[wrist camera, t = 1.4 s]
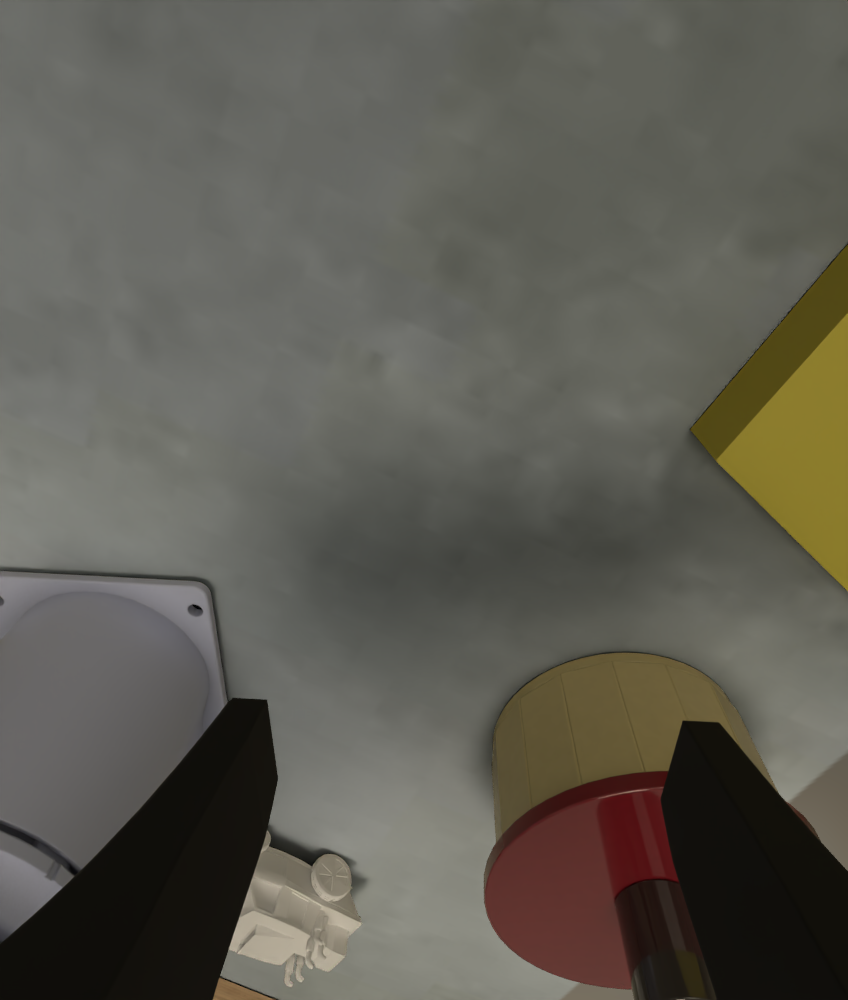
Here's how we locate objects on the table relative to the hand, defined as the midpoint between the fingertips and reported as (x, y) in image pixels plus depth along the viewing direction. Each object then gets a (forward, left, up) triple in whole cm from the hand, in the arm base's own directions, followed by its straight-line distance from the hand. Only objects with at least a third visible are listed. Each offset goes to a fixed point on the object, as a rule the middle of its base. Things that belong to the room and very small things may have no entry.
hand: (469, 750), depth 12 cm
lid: (-11, -6, -5) cm, 14 cm away
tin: (-11, -6, -10) cm, 16 cm away
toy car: (-20, +8, -11) cm, 24 cm away
